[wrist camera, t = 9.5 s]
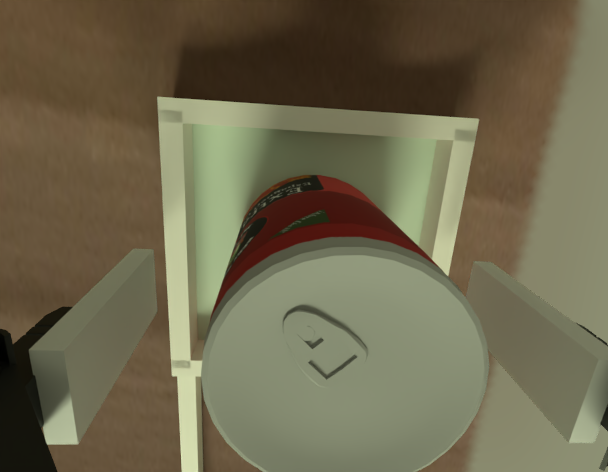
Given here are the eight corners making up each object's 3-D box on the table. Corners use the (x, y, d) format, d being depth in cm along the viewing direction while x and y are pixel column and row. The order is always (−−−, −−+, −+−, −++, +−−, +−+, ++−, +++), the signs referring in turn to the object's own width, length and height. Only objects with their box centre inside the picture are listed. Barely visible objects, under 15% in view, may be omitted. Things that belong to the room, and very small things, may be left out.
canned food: (290, 140, 19) (306, 180, 8) (414, 226, 20) (555, 347, 10) (210, 262, 20) (140, 423, 10) (331, 332, 22) (379, 528, 12)
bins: (173, 98, 18) (157, 96, 16) (454, 117, 19) (479, 118, 17) (189, 507, 27) (180, 545, 24) (385, 504, 28) (395, 541, 25)
